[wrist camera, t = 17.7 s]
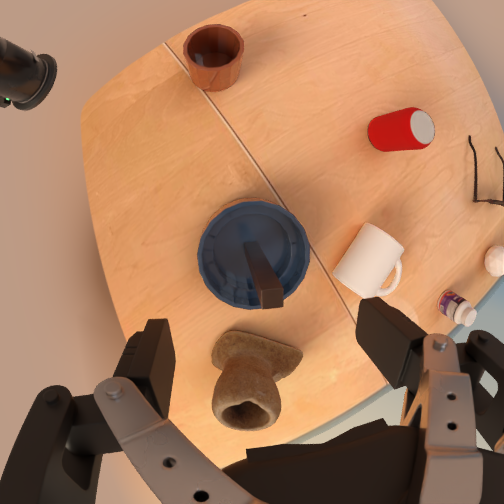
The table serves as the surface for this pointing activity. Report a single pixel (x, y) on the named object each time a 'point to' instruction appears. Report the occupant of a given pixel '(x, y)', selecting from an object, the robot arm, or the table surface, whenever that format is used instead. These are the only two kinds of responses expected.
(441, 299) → the pill bottle
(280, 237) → the bowl
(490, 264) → the geometric ball
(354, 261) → the mug
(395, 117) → the beverage can
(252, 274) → the stick
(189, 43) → the holder
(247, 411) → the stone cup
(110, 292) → the table surface
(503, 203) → the eyeglasses
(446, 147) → the table surface
